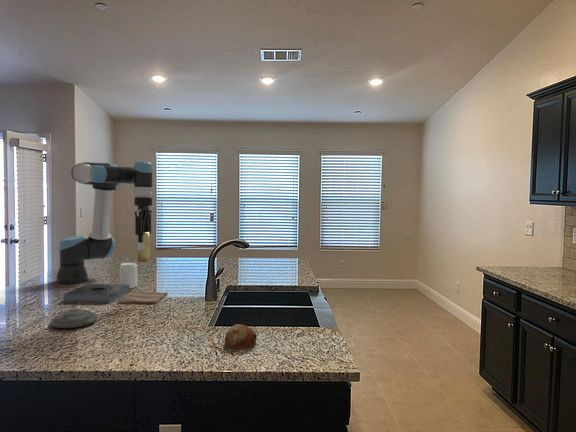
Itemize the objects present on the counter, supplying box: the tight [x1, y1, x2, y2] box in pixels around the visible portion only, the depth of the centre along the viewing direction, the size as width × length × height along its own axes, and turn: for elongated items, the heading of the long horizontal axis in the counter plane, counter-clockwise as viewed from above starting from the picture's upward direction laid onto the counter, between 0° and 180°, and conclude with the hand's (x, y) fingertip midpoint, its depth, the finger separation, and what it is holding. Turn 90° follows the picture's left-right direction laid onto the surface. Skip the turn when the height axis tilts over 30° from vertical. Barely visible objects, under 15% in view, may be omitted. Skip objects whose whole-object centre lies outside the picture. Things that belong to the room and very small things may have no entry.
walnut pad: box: [118, 291, 169, 305], centre depth 178 cm, size 16×16×1 cm
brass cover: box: [137, 232, 151, 263], centre depth 177 cm, size 5×5×13 cm
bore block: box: [62, 283, 130, 304], centre depth 181 cm, size 20×20×4 cm
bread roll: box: [224, 323, 258, 350], centre depth 127 cm, size 10×10×8 cm
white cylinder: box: [119, 262, 138, 290], centre depth 199 cm, size 8×8×12 cm
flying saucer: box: [50, 308, 98, 329], centre depth 144 cm, size 15×15×6 cm
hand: (143, 248), depth 177 cm, fingers closed on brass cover, 5 cm apart
